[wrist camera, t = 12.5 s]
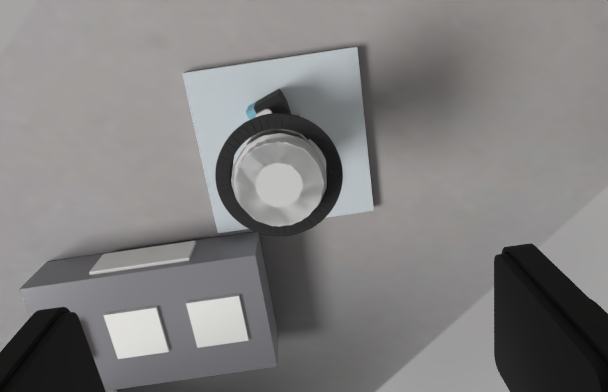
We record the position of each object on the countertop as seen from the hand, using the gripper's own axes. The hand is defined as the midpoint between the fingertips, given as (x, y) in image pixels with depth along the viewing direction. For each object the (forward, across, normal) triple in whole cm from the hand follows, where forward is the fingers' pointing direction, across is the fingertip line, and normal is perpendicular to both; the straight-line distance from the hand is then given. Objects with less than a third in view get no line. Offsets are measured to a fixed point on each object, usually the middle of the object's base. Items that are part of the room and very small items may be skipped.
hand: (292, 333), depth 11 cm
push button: (+19, 0, 0) cm, 19 cm away
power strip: (+20, +10, +10) cm, 24 cm away
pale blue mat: (+20, +1, +1) cm, 20 cm away
